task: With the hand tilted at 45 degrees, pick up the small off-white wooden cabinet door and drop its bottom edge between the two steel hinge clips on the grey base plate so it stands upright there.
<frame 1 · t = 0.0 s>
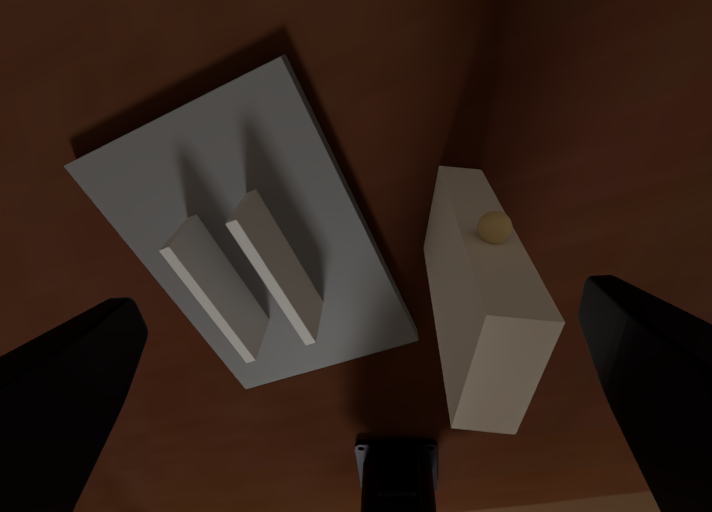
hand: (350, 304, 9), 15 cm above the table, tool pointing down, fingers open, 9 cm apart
grey base plate: (263, 253, 25), on the table
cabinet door: (450, 211, 23), on the table
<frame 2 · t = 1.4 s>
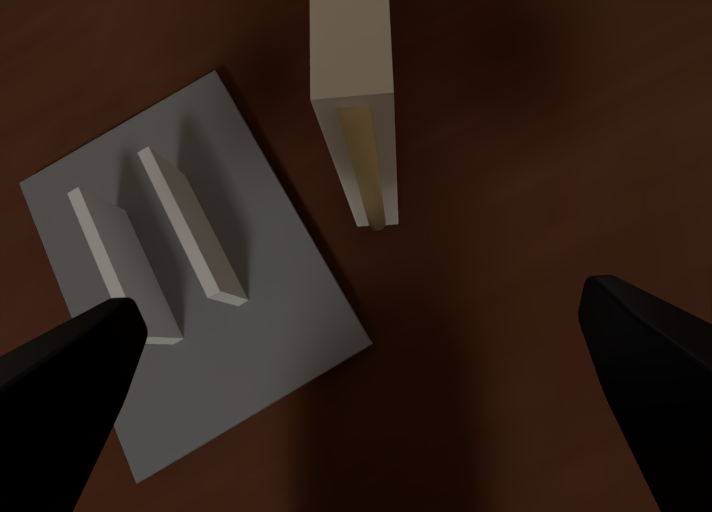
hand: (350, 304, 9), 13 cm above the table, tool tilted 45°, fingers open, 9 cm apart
grey base plate: (188, 260, 24), on the table
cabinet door: (376, 181, 23), on the table
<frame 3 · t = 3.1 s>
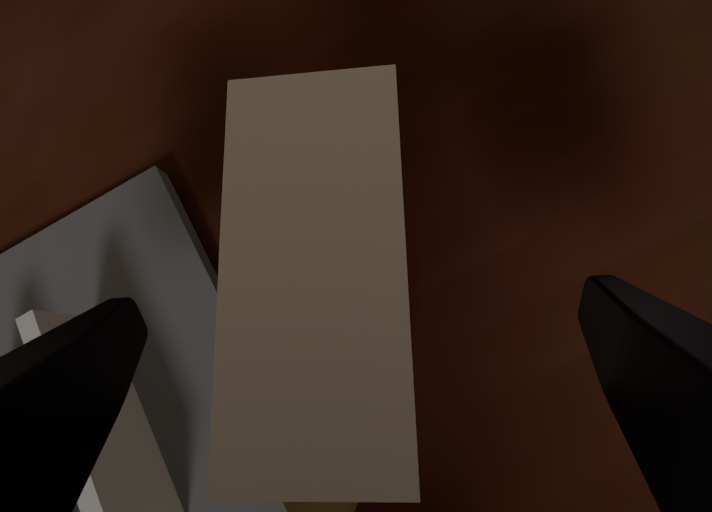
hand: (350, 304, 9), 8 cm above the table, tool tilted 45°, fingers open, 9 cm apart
grey base plate: (110, 439, 17), on the table
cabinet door: (376, 329, 17), on the table
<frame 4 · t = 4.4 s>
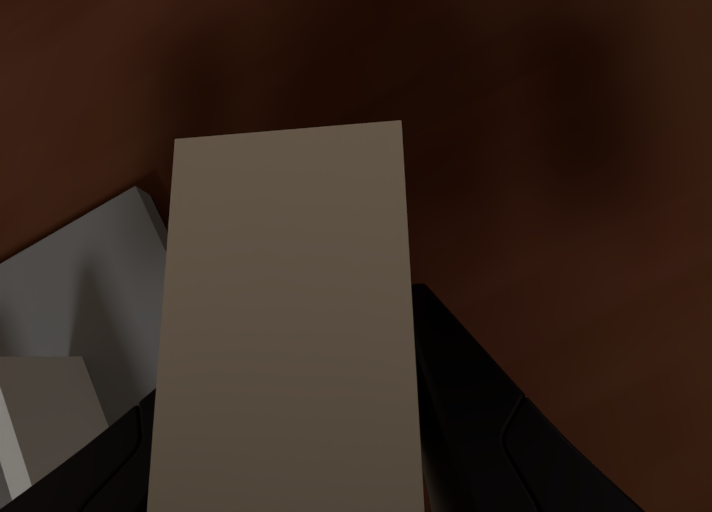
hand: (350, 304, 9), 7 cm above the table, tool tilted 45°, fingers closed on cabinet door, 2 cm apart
grey base plate: (86, 487, 15), on the table
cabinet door: (375, 367, 15), on the table, touching gripper
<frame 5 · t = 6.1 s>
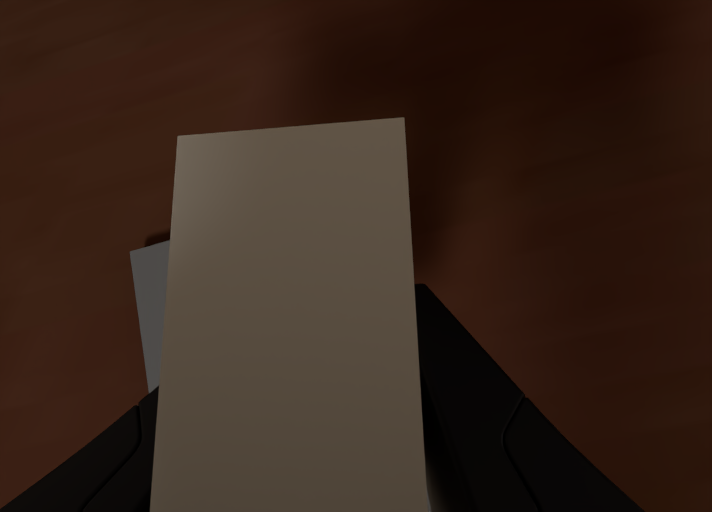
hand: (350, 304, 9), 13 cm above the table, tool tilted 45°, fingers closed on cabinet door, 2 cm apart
grey base plate: (285, 387, 22), on the table
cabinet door: (376, 366, 15), point 6 cm above the table, touching gripper
when the fingers open (9 cm above the table, at t = 7.7 s): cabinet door drops 1 cm, resting on grey base plate.
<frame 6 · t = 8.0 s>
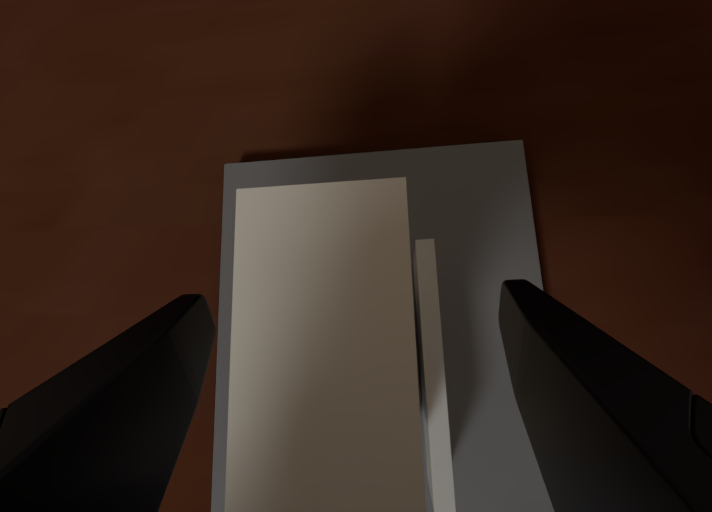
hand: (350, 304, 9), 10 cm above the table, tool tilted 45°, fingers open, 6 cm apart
grey base plate: (379, 365, 17), on the table
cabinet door: (379, 364, 17), point 1 cm above the table, touching grey base plate
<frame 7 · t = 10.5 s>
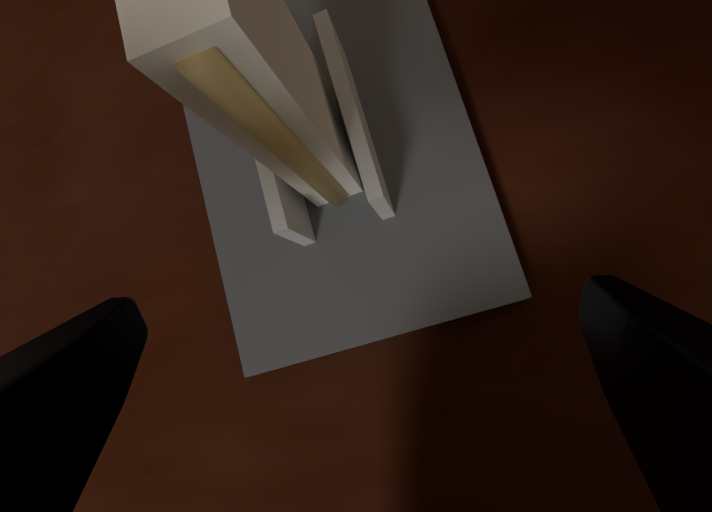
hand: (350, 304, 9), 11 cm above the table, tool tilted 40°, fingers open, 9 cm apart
grey base plate: (331, 158, 21), on the table
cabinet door: (326, 149, 20), point 1 cm above the table, touching grey base plate
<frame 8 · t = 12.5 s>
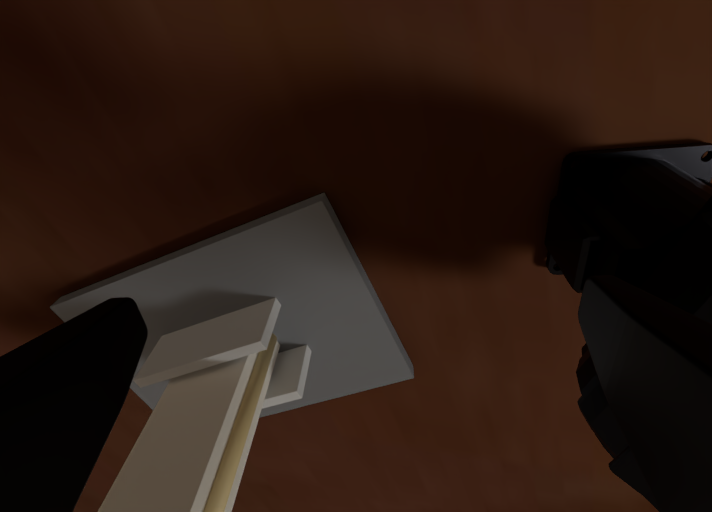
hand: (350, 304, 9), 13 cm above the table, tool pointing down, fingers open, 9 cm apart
grey base plate: (241, 332, 27), on the table
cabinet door: (235, 343, 26), point 1 cm above the table, touching grey base plate
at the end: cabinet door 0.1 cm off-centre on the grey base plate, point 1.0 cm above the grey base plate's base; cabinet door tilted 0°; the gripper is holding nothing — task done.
